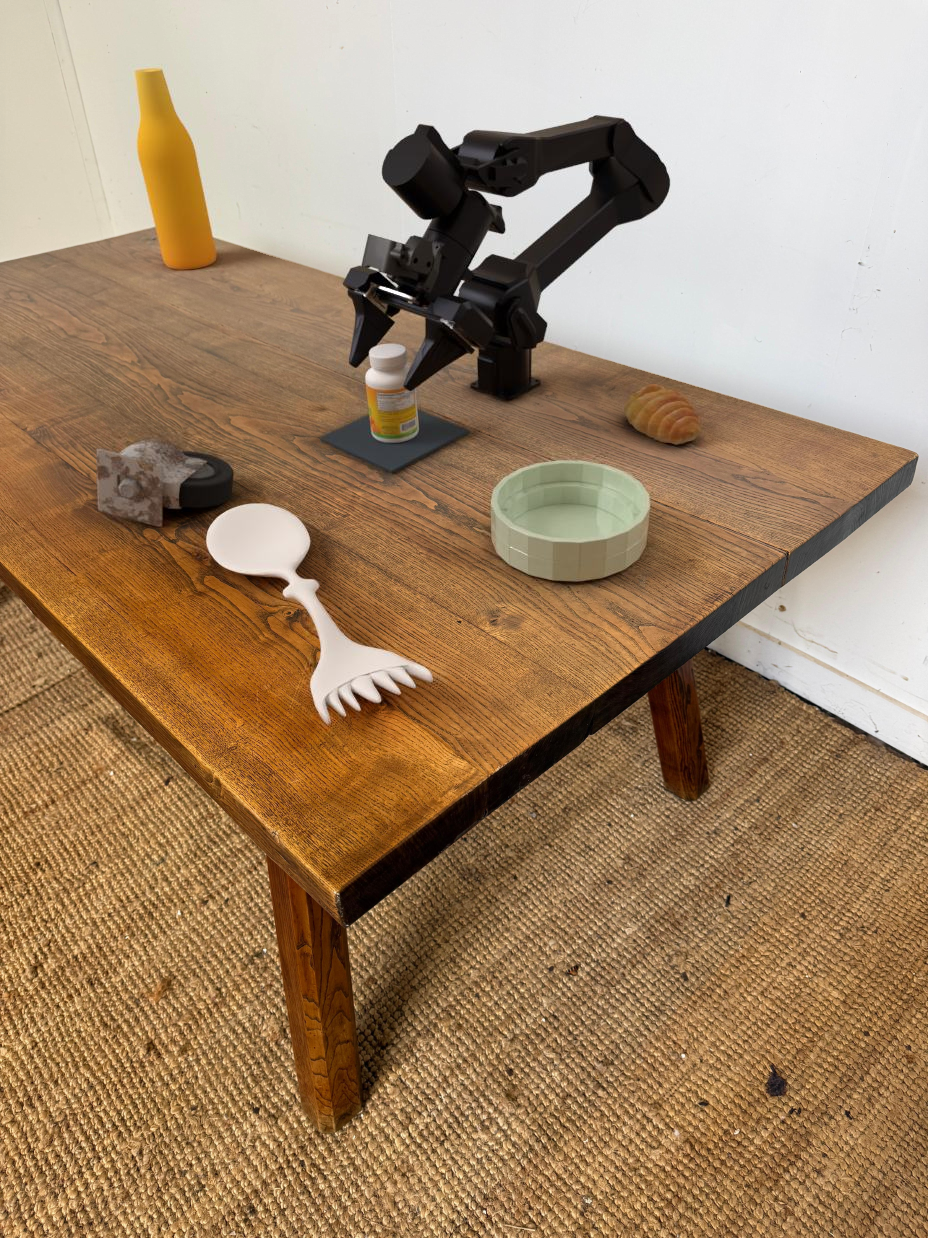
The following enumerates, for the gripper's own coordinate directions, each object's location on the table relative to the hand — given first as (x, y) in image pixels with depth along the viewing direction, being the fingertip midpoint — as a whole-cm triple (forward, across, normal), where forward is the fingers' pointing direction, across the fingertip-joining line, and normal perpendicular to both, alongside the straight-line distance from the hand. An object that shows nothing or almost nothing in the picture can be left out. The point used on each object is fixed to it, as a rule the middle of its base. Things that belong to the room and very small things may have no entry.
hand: (378, 377), depth 94 cm
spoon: (+23, +19, -12) cm, 32 cm away
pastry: (-11, +21, +22) cm, 32 cm away
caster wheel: (+22, -6, -11) cm, 25 cm away
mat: (+4, 0, +6) cm, 8 cm away
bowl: (+6, +28, +5) cm, 29 cm away
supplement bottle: (+4, 0, +6) cm, 8 cm away
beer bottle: (-9, -78, +20) cm, 81 cm away
